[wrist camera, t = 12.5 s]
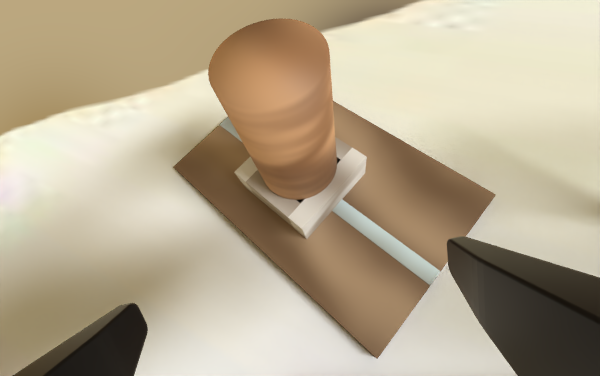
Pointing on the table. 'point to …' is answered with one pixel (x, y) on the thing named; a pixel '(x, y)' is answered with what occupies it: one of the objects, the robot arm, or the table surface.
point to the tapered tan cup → (280, 103)
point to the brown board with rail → (348, 221)
